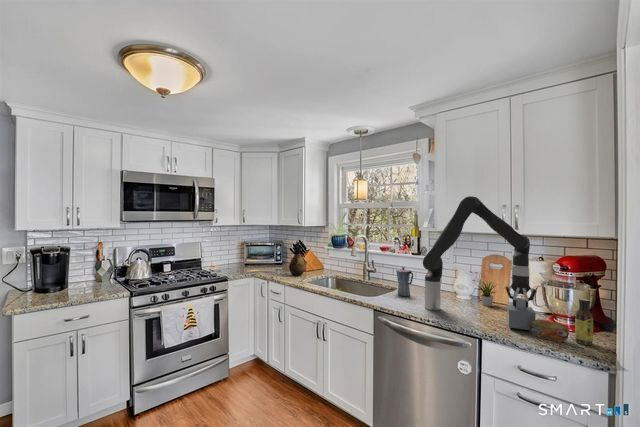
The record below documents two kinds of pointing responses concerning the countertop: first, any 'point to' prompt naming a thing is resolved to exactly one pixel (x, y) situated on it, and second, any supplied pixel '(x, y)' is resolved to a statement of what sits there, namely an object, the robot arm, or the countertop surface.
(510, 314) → the stacked grey blocks
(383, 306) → the countertop surface
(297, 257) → the pineapple
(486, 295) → the house plant
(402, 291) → the moka pot
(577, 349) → the countertop surface
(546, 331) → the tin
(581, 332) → the sauce bottle
